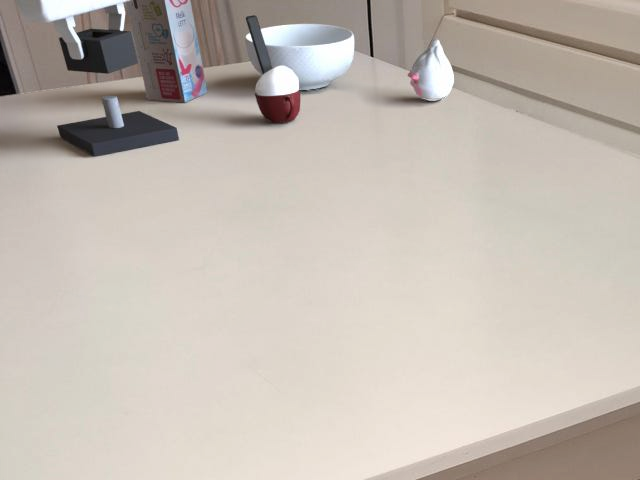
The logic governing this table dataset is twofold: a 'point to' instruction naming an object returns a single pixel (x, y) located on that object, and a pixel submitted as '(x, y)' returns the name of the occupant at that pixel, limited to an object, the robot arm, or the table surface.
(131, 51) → the black box
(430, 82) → the figurine
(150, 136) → the base pad
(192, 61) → the milk carton
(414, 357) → the table surface
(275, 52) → the cereal bowl
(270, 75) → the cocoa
